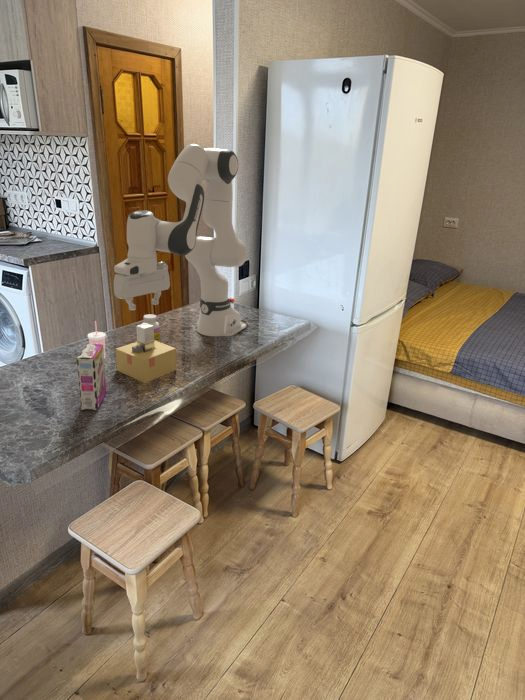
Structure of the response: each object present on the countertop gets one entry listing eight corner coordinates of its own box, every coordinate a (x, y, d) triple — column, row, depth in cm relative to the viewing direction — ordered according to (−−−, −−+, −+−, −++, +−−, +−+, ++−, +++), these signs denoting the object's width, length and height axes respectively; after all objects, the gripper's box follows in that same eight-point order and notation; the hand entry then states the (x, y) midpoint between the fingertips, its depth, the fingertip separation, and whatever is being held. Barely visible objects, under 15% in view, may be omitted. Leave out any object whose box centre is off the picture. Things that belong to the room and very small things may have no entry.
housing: (149, 358, 175) (148, 334, 171) (176, 369, 167) (176, 344, 163) (116, 370, 164) (114, 344, 160) (144, 383, 156) (143, 356, 153)
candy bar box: (98, 411, 139) (94, 358, 132) (80, 410, 138) (75, 358, 132) (107, 393, 149) (103, 343, 143) (91, 392, 149) (86, 343, 142)
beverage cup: (96, 353, 176) (93, 317, 171) (111, 356, 175) (108, 319, 169) (85, 359, 171) (82, 322, 165) (100, 362, 169) (97, 325, 164)
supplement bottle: (155, 352, 180) (154, 319, 175) (139, 350, 181) (137, 317, 176) (162, 346, 186) (161, 314, 181) (146, 344, 187) (145, 312, 182)
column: (147, 366, 168) (145, 322, 162) (155, 369, 166) (154, 325, 160) (138, 369, 165) (135, 325, 159) (146, 373, 163) (144, 328, 157)
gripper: (160, 259, 161) (161, 299, 167) (109, 267, 146) (112, 311, 151) (174, 262, 158) (174, 303, 163) (122, 271, 143) (125, 315, 148)
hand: (144, 307), depth 157 cm, fingers open, 8 cm apart
